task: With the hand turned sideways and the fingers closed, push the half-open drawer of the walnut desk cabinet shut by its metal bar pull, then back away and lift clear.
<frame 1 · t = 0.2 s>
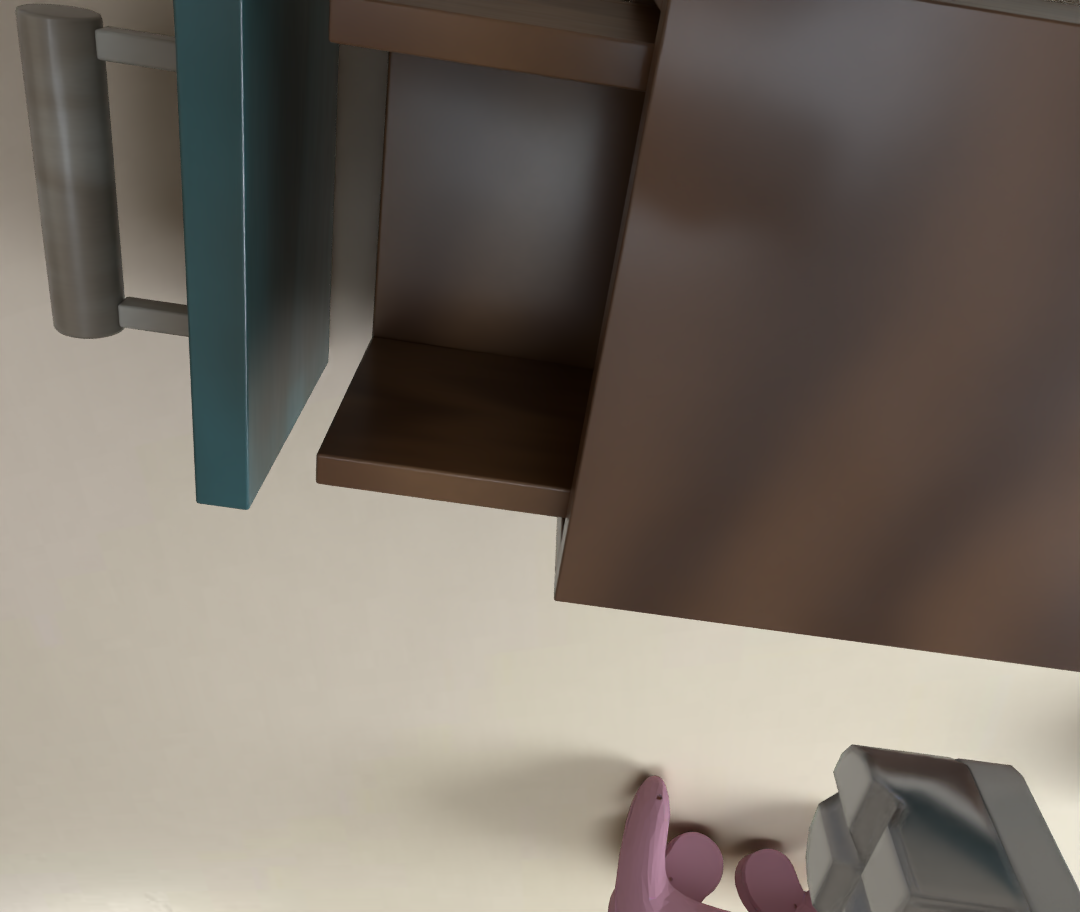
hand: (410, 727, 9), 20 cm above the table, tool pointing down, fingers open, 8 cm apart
drawer: (466, 232, 22), point 5 cm above the table, slide at 7.0 cm
cabinet: (876, 238, 27), on the table
video game controller: (730, 831, 40), on the table
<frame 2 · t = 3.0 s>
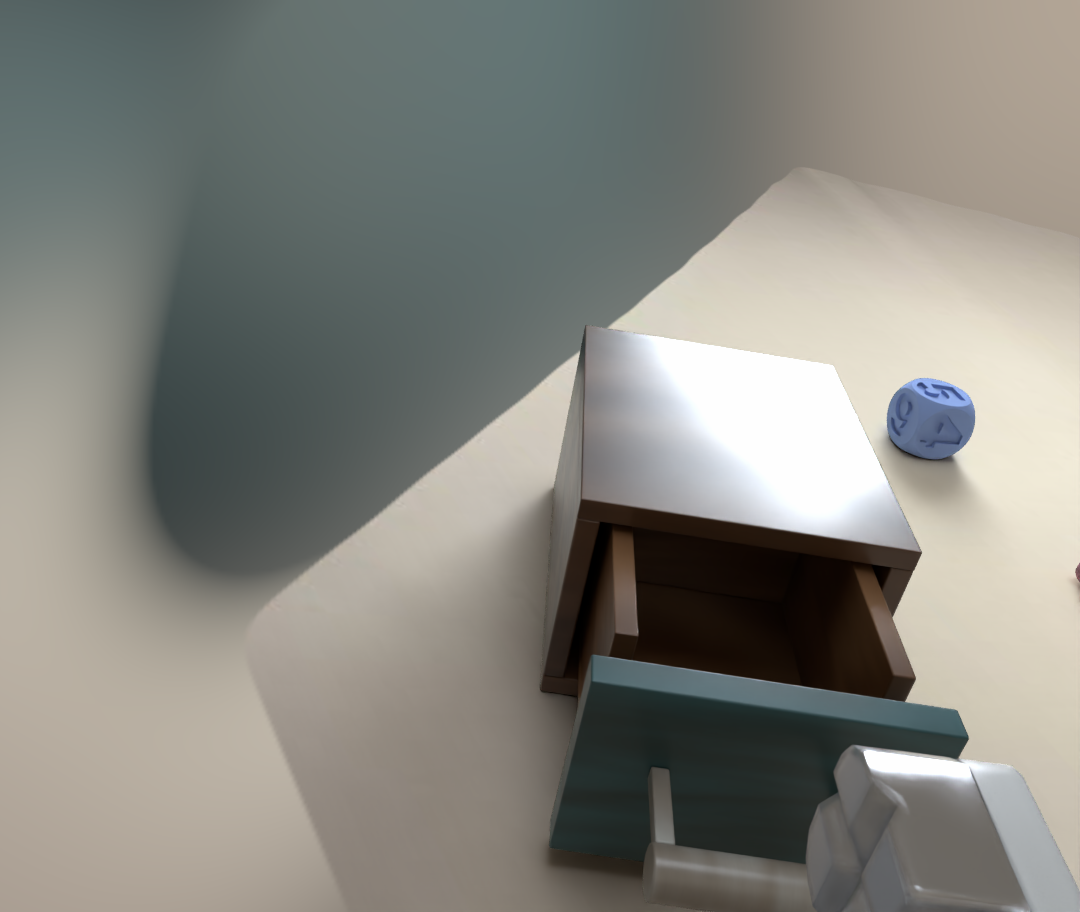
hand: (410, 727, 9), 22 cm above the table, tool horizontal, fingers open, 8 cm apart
drawer: (728, 682, 35), point 5 cm above the table, slide at 7.0 cm
decorative dice: (918, 446, 65), on the table
cabinet: (677, 593, 47), on the table
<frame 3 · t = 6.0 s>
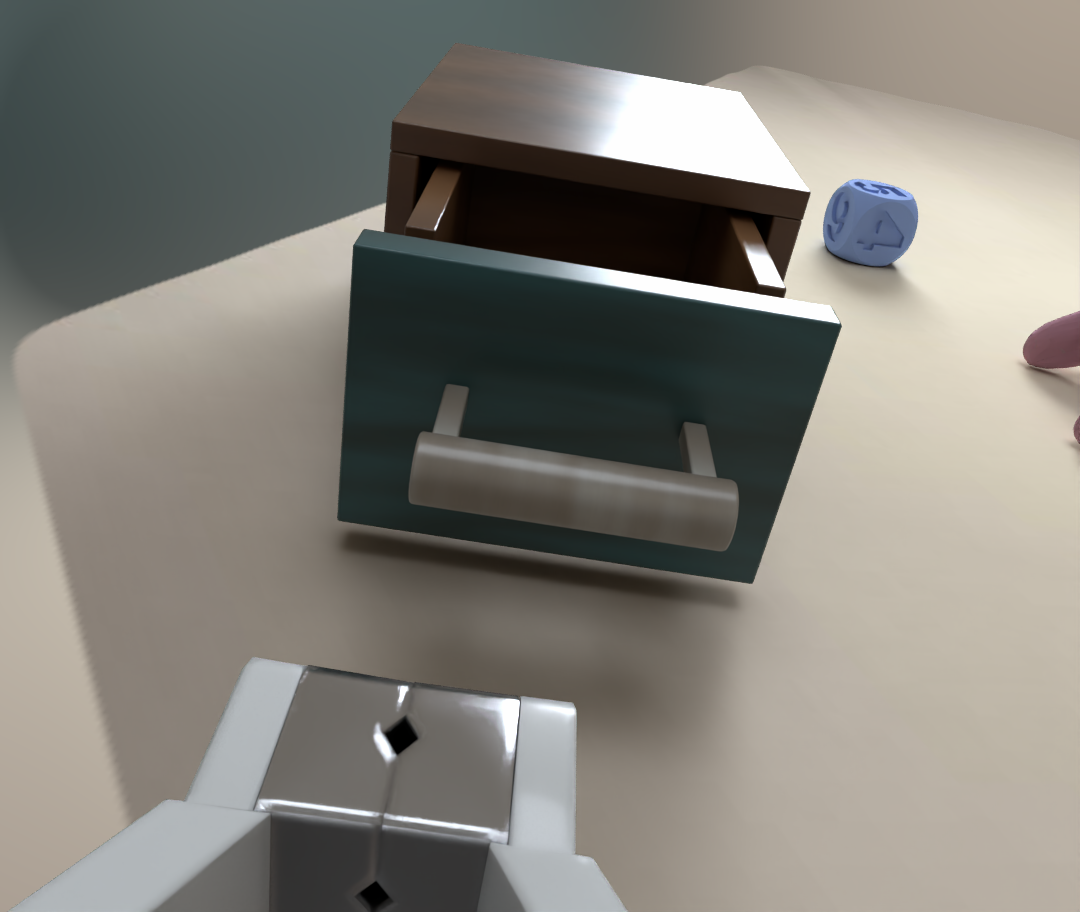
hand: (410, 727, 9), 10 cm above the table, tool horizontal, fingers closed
drawer: (574, 346, 29), point 5 cm above the table, slide at 7.0 cm
decorative dice: (857, 257, 59), on the table
cabinet: (557, 343, 41), on the table
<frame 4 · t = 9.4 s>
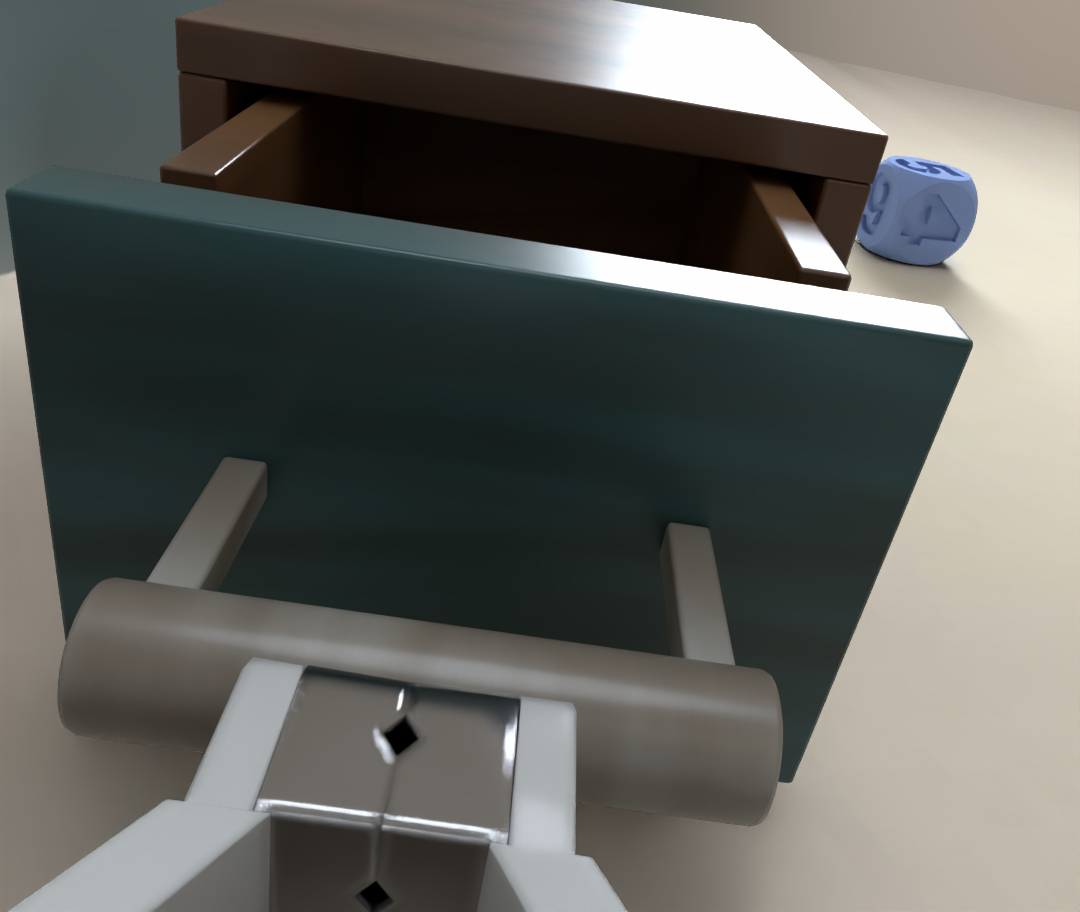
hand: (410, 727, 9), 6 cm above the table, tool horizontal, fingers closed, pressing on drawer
drawer: (493, 376, 18), point 5 cm above the table, slide at 6.0 cm, touching gripper
decorative dice: (898, 254, 47), on the table
cabinet: (500, 375, 29), on the table
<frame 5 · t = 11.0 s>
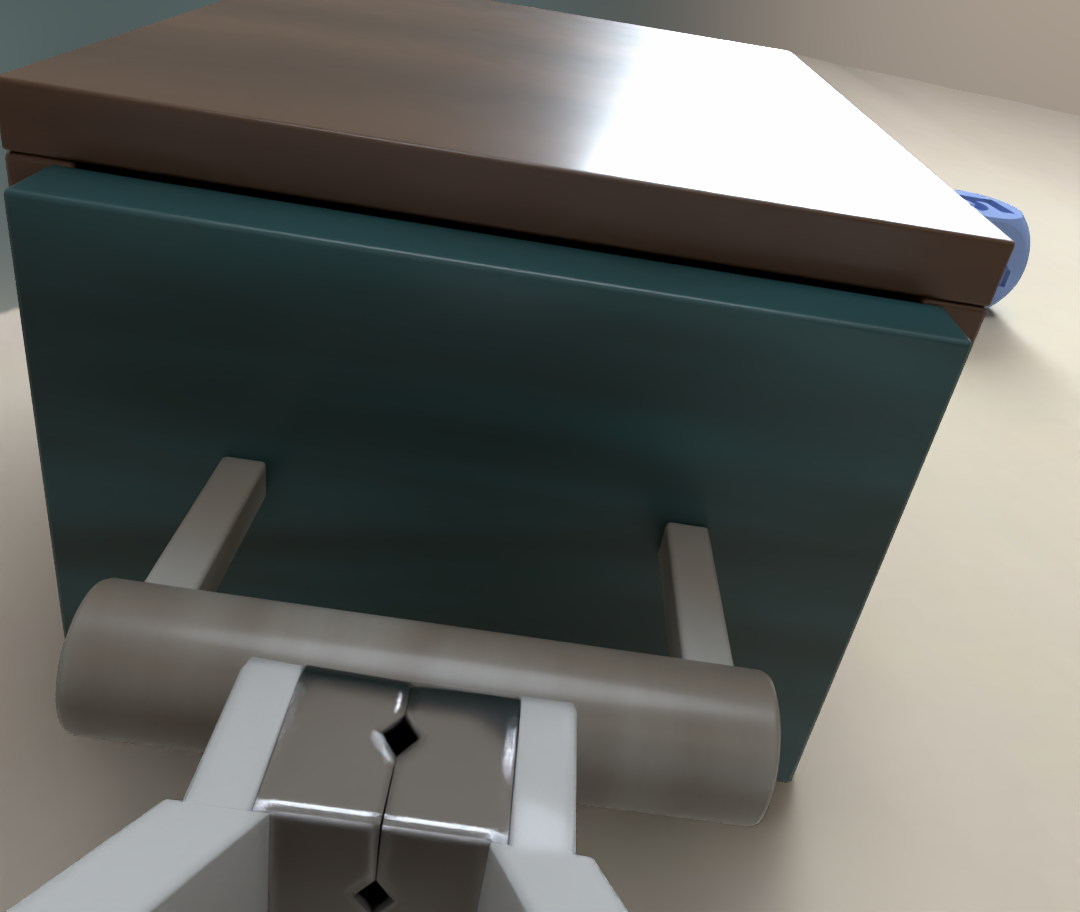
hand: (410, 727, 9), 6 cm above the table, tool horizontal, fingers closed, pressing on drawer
drawer: (492, 375, 18), point 5 cm above the table, slide at 0.0 cm, touching cabinet, gripper
decorative dice: (938, 298, 42), on the table
cabinet: (481, 481, 24), on the table
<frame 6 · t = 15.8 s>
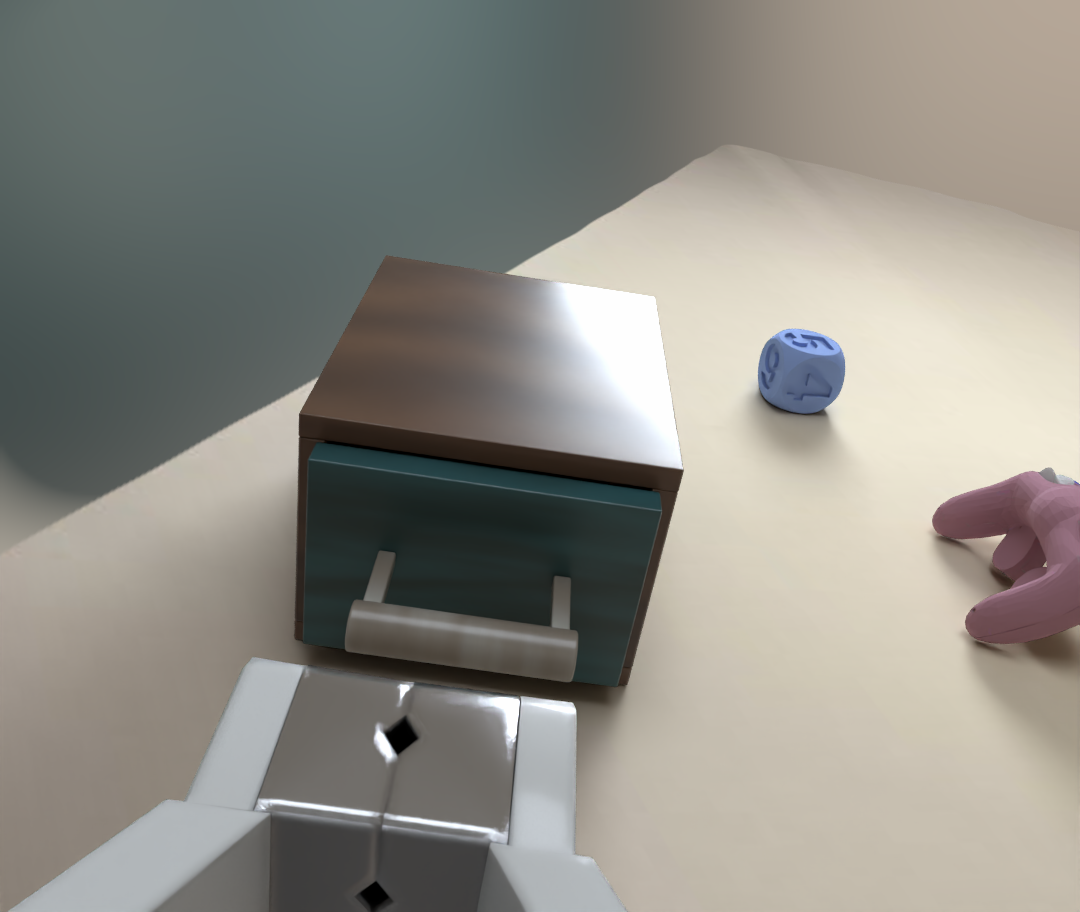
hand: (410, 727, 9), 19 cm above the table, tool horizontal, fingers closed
drawer: (486, 500, 38), point 5 cm above the table, slide at 0.0 cm, touching cabinet
decorative dice: (790, 401, 62), on the table
cabinet: (481, 541, 44), on the table
video game controller: (1001, 595, 46), on the table
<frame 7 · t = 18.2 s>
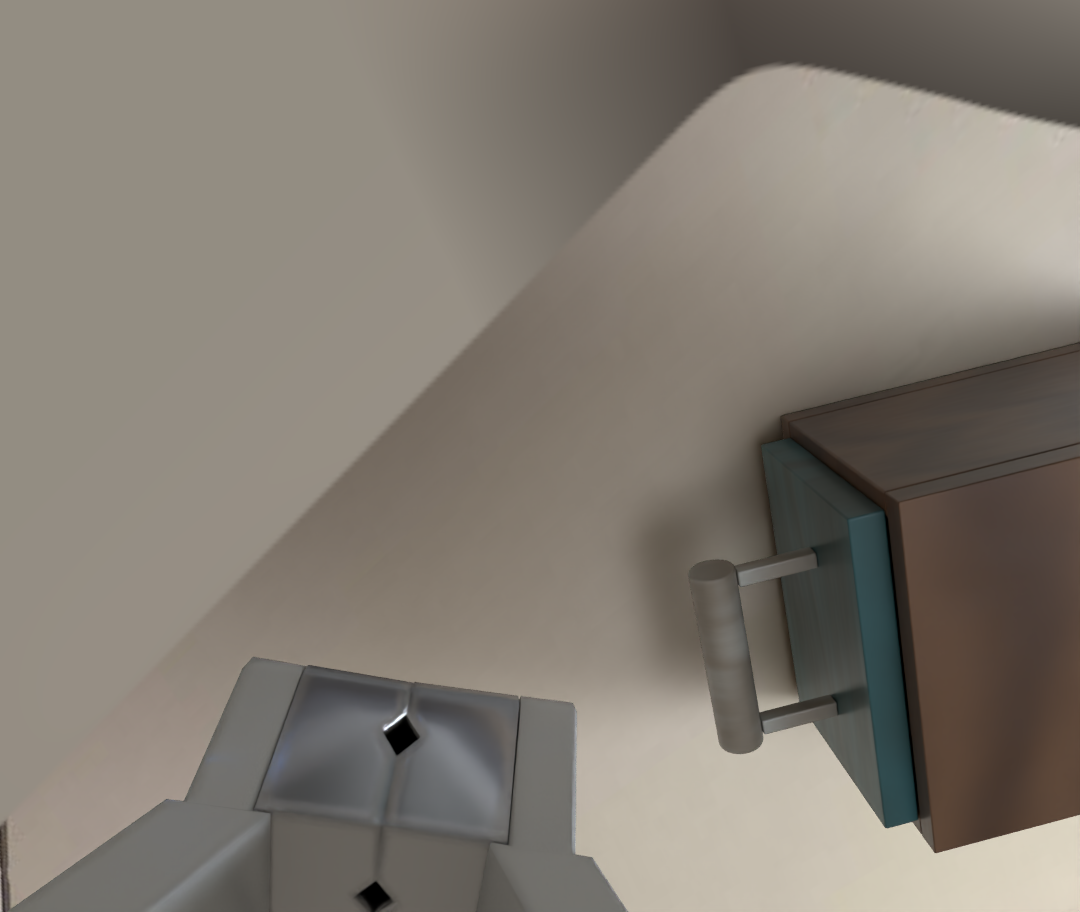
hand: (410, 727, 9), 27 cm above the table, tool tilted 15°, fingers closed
drawer: (955, 591, 35), point 5 cm above the table, slide at 0.0 cm, touching cabinet
cabinet: (985, 516, 40), on the table
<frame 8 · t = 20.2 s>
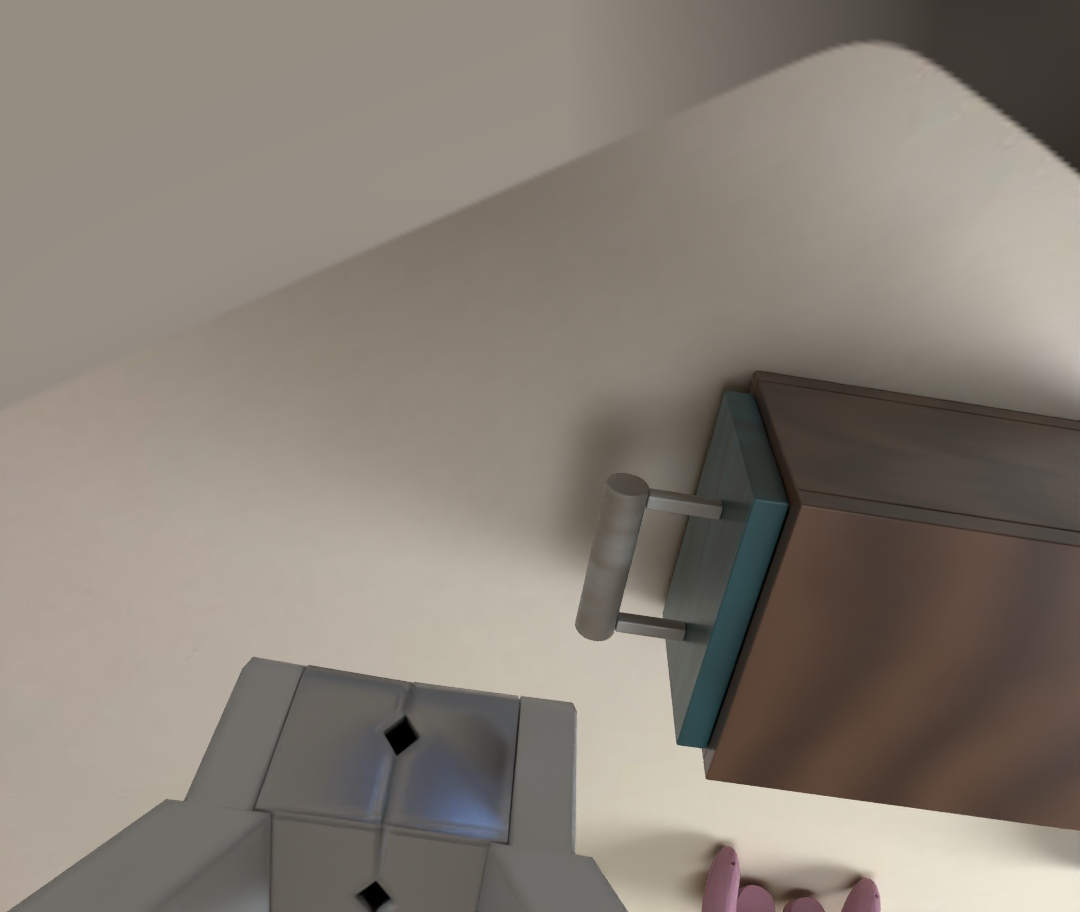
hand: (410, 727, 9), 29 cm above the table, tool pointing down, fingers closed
drawer: (827, 584, 38), point 5 cm above the table, slide at 0.0 cm, touching cabinet
cabinet: (892, 527, 42), on the table
video game controller: (779, 883, 55), on the table
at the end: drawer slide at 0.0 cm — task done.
